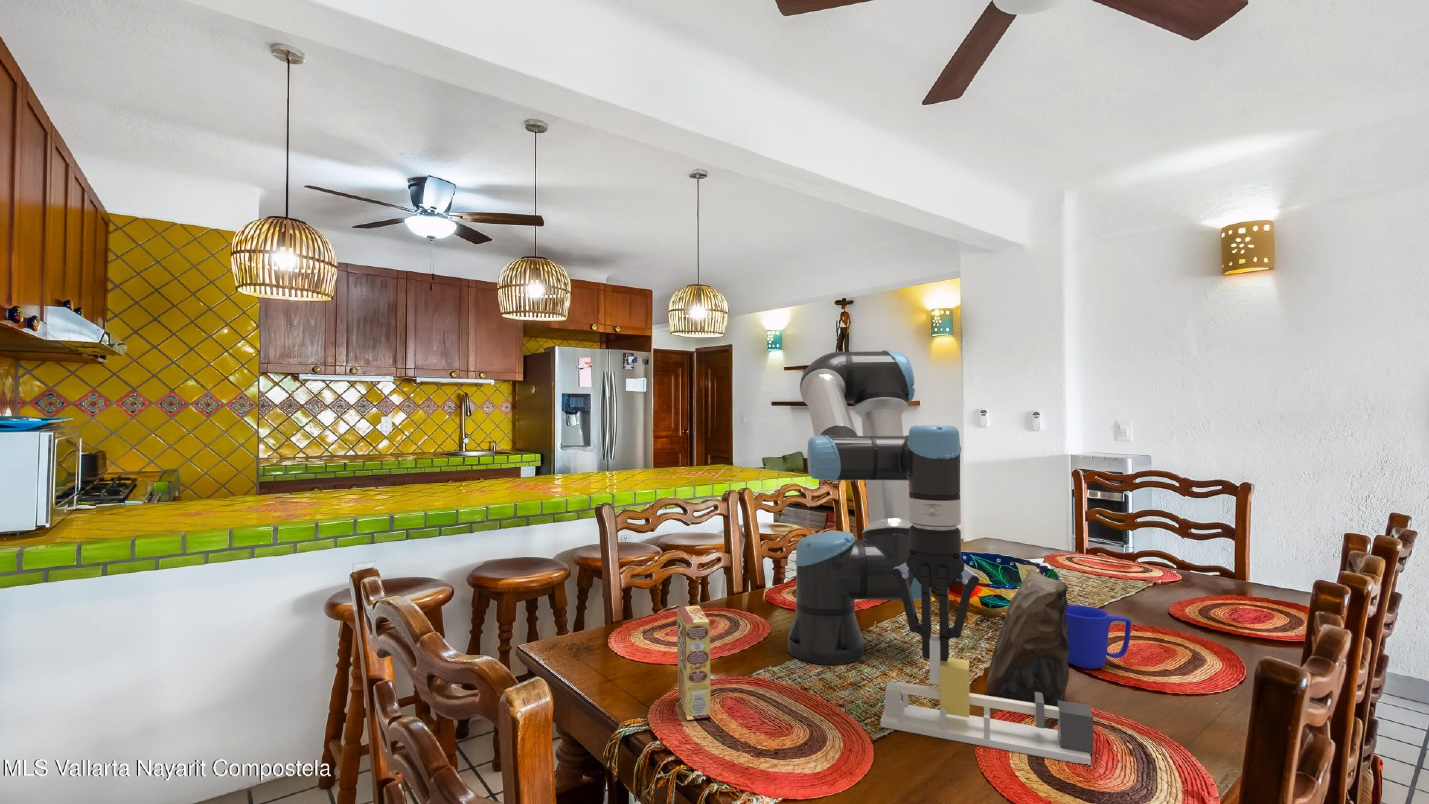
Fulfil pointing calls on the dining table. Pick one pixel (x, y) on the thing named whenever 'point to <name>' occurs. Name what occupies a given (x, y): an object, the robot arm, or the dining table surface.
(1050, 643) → the brown rock
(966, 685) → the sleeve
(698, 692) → the candy box
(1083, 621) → the mug
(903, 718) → the comb rail
